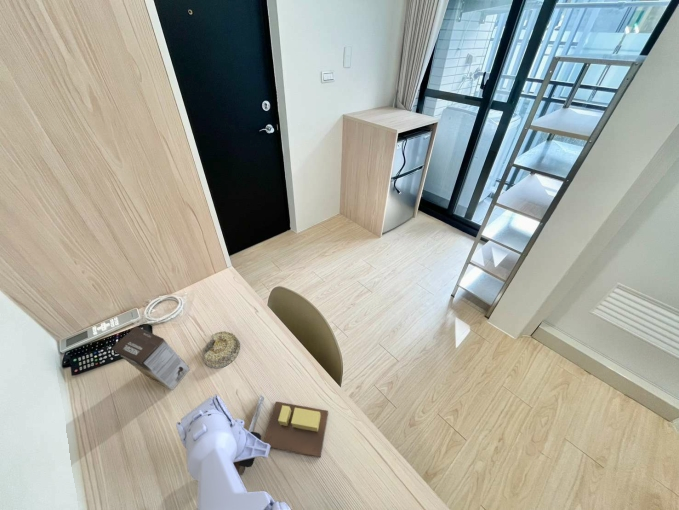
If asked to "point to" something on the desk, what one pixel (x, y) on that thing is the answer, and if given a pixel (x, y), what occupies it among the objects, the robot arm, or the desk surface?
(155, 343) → the coffee box
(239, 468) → the knife
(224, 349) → the ammonite fossil
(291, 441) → the butter board
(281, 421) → the butter pat
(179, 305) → the desk surface
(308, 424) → the butter
